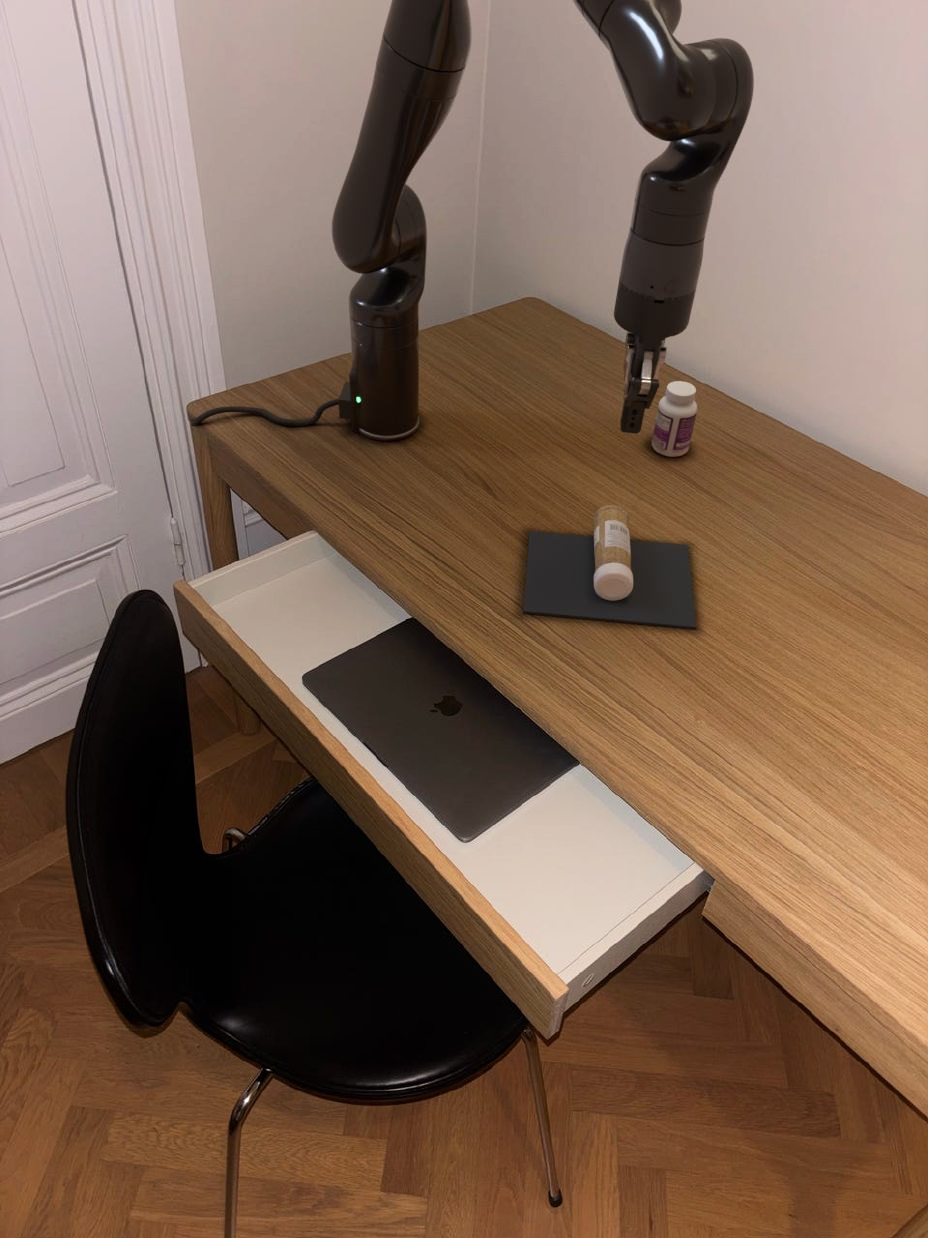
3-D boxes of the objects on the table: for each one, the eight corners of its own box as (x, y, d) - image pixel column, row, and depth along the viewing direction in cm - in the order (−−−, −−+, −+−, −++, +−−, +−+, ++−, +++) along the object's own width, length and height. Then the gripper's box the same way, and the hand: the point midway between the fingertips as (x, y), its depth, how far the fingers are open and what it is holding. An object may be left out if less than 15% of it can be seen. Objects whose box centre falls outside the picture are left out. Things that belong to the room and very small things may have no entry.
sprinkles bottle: (585, 518, 120) (585, 588, 110) (611, 497, 117) (613, 566, 108) (611, 538, 122) (613, 608, 112) (637, 517, 119) (641, 587, 109)
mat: (522, 613, 110) (523, 610, 110) (529, 533, 121) (529, 530, 121) (695, 629, 109) (696, 627, 109) (687, 547, 120) (687, 544, 120)
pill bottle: (687, 438, 138) (700, 379, 131) (689, 459, 134) (703, 399, 127) (649, 435, 138) (661, 376, 131) (651, 456, 134) (663, 396, 128)
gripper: (619, 245, 97) (596, 394, 109) (621, 304, 88) (595, 460, 100) (692, 252, 97) (661, 400, 109) (702, 311, 87) (666, 467, 99)
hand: (629, 429), depth 104 cm, fingers closed
